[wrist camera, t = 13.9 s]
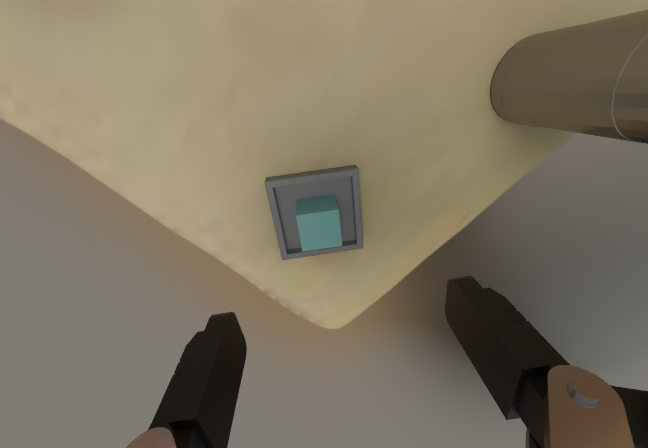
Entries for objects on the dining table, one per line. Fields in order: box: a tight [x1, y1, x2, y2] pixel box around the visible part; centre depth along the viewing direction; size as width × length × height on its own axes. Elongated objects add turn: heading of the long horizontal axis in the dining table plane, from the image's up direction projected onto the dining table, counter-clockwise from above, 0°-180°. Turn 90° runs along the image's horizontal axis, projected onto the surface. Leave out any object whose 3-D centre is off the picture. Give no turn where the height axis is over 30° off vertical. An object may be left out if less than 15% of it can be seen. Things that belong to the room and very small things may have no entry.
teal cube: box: [296, 194, 342, 252], centre depth 35 cm, size 5×5×5 cm
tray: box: [265, 165, 363, 260], centre depth 37 cm, size 12×12×2 cm
